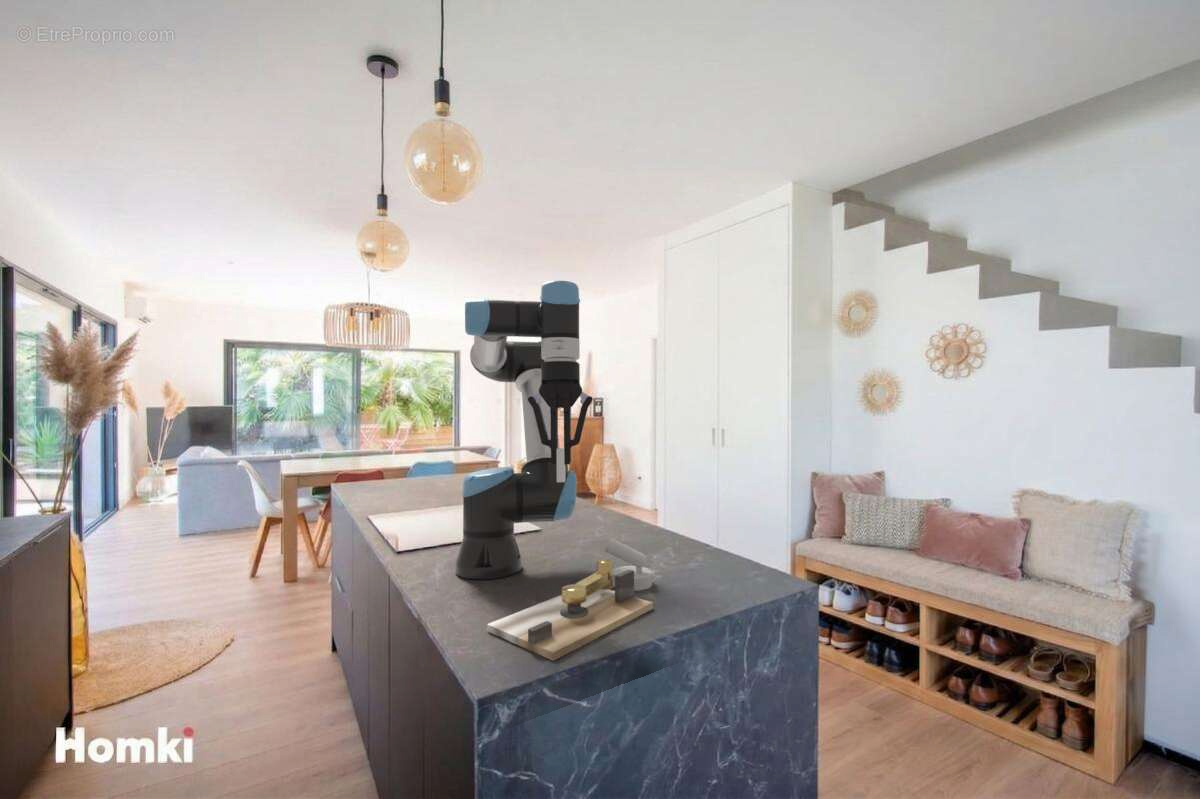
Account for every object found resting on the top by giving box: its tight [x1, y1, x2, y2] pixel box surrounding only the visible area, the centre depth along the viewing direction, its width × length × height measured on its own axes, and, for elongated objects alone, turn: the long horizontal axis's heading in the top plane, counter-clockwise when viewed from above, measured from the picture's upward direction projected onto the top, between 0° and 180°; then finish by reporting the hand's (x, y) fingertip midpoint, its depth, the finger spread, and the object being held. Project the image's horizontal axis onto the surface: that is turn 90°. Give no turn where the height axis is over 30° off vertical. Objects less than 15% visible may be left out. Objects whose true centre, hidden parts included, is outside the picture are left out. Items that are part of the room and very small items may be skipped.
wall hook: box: [604, 537, 653, 592], centre depth 112 cm, size 9×10×10 cm
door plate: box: [486, 570, 654, 661], centre depth 94 cm, size 16×26×6 cm, turn 139°
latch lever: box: [561, 558, 614, 604], centre depth 98 cm, size 15×4×5 cm, turn 150°
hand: (561, 481), depth 103 cm, fingers closed
